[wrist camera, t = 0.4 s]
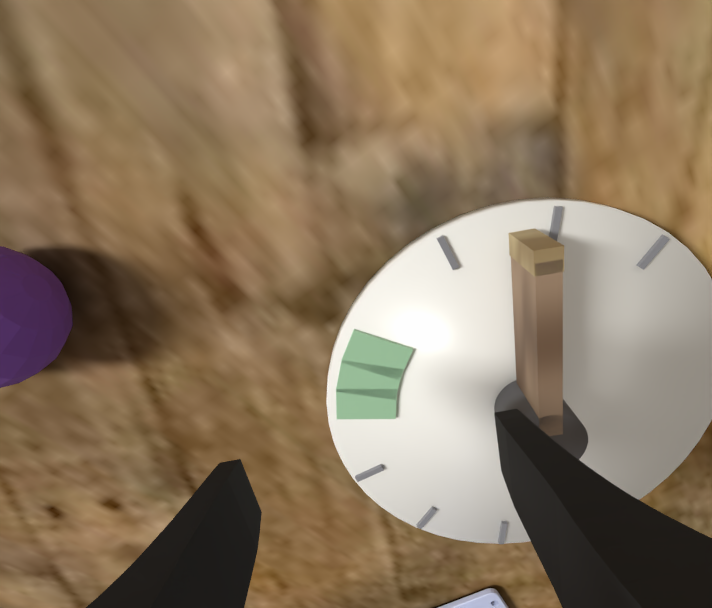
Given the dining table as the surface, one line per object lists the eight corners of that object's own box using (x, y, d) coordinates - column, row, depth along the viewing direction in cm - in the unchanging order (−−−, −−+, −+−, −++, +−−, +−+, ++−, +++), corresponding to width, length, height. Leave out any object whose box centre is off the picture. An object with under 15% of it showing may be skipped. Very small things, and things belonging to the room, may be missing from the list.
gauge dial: (751, 444, 25) (770, 459, 24) (431, 571, 29) (434, 589, 28) (651, 106, 18) (671, 105, 17) (251, 328, 22) (246, 339, 21)
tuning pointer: (558, 425, 23) (587, 468, 20) (496, 434, 23) (515, 478, 20) (558, 222, 19) (593, 240, 16) (482, 235, 19) (504, 255, 16)
